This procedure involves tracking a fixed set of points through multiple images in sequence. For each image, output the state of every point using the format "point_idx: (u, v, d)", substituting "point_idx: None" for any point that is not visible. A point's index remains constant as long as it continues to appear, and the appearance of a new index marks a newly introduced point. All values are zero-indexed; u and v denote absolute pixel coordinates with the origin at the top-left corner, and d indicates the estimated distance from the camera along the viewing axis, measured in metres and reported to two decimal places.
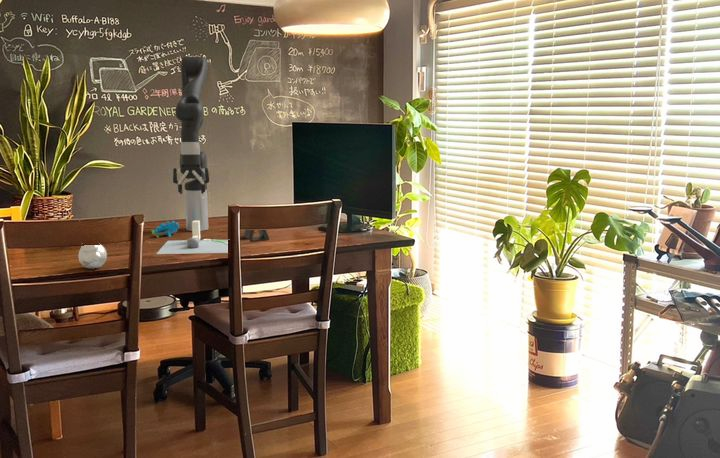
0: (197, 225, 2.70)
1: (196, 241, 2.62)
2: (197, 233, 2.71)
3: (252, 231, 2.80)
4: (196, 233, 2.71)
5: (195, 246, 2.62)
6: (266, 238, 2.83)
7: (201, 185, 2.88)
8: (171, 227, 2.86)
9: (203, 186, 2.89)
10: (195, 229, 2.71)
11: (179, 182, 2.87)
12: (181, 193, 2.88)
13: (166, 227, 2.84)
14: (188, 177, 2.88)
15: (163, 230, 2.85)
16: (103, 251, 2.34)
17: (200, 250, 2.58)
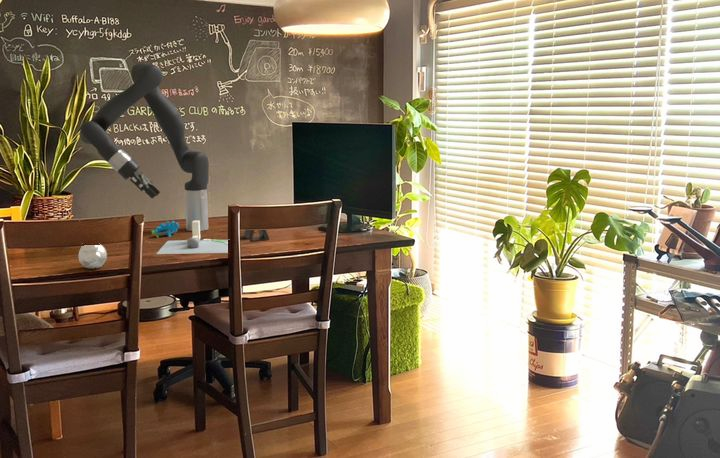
0: (197, 225, 2.70)
1: (196, 241, 2.62)
2: (197, 233, 2.71)
3: (252, 231, 2.80)
4: (196, 233, 2.71)
5: (195, 246, 2.62)
6: (266, 238, 2.83)
7: None
8: (171, 227, 2.85)
9: (147, 192, 2.64)
10: (195, 229, 2.71)
11: None
12: (155, 195, 2.73)
13: (166, 227, 2.84)
14: None
15: (163, 230, 2.85)
16: (103, 251, 2.34)
17: (200, 250, 2.58)
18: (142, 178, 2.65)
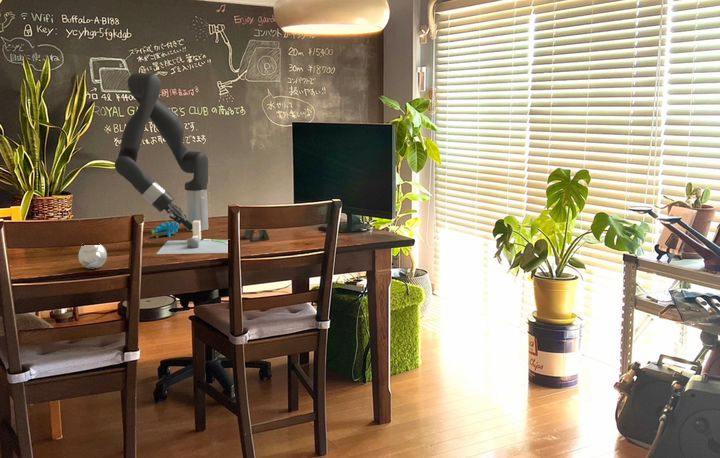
0: (197, 225, 2.70)
1: (196, 241, 2.62)
2: (197, 233, 2.71)
3: (252, 231, 2.80)
4: (196, 233, 2.71)
5: (195, 246, 2.62)
6: (266, 238, 2.83)
7: (183, 224, 2.72)
8: (171, 227, 2.85)
9: (185, 224, 2.71)
10: (195, 229, 2.71)
11: None
12: (190, 229, 2.73)
13: (166, 227, 2.83)
14: None
15: (163, 230, 2.84)
16: (103, 251, 2.34)
17: (200, 250, 2.58)
18: (178, 211, 2.70)
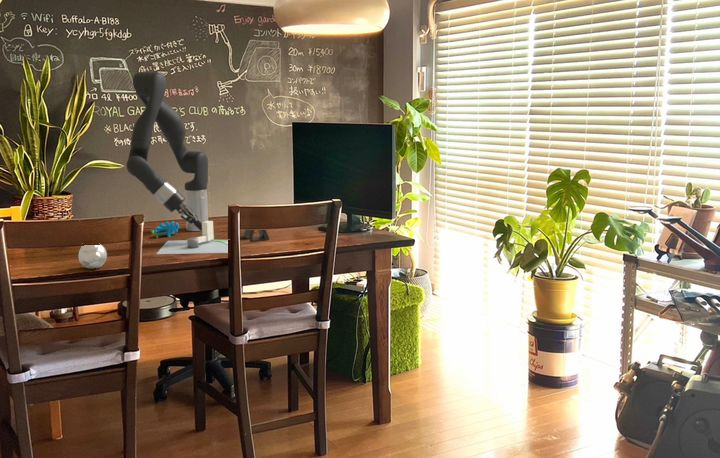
0: (206, 225, 2.70)
1: (194, 241, 2.62)
2: (206, 233, 2.70)
3: (252, 231, 2.80)
4: (205, 233, 2.70)
5: (193, 246, 2.62)
6: (266, 238, 2.83)
7: (194, 224, 2.72)
8: (171, 227, 2.85)
9: (196, 225, 2.71)
10: (204, 229, 2.70)
11: None
12: (201, 230, 2.73)
13: (166, 227, 2.83)
14: None
15: (163, 230, 2.84)
16: (103, 251, 2.34)
17: (200, 250, 2.58)
18: (189, 211, 2.69)
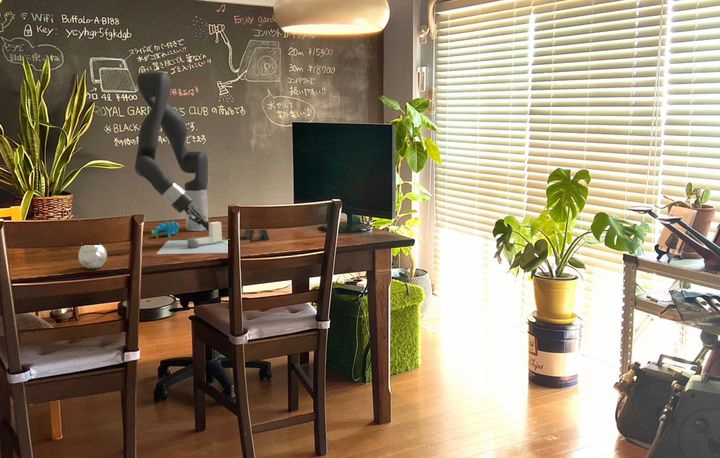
0: (211, 226, 2.68)
1: (192, 241, 2.61)
2: (211, 234, 2.68)
3: (252, 231, 2.80)
4: (211, 234, 2.69)
5: (190, 246, 2.62)
6: (266, 238, 2.83)
7: (202, 225, 2.71)
8: (171, 227, 2.85)
9: None
10: (210, 230, 2.69)
11: None
12: None
13: (166, 227, 2.83)
14: None
15: (163, 230, 2.84)
16: (103, 251, 2.34)
17: (200, 250, 2.58)
18: (198, 212, 2.68)
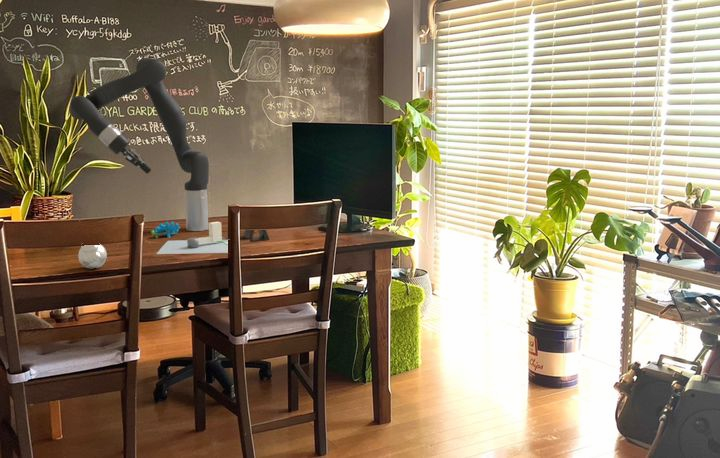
0: (211, 226, 2.68)
1: (192, 241, 2.61)
2: (212, 234, 2.68)
3: (252, 231, 2.80)
4: (211, 234, 2.69)
5: (190, 246, 2.62)
6: (266, 238, 2.83)
7: (140, 167, 2.69)
8: (171, 228, 2.84)
9: (142, 168, 2.69)
10: (210, 230, 2.69)
11: None
12: None
13: (166, 228, 2.83)
14: None
15: (163, 230, 2.84)
16: (103, 251, 2.34)
17: (200, 250, 2.58)
18: (135, 154, 2.67)
